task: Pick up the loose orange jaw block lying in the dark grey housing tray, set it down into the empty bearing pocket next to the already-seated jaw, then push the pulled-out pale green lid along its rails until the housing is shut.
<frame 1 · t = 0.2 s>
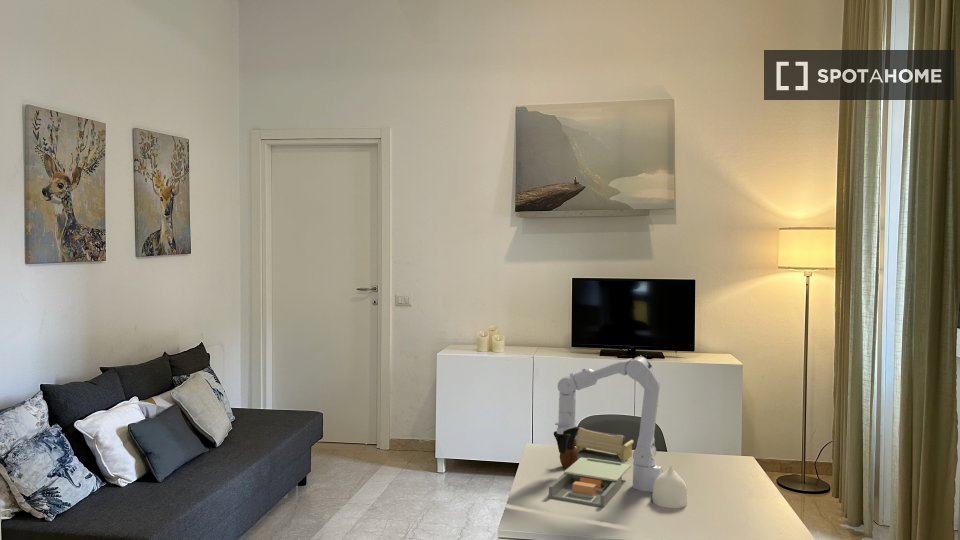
hand: (566, 450, 264), 10 cm above the table, tool pointing down, fingers open, 7 cm apart
lid: (598, 468, 260), point 5 cm above the table, slide at 15.0 cm
toy sofa: (603, 455, 295), on the table
teardrop: (669, 502, 244), on the table
housing: (585, 495, 248), on the table
wooden figurine: (568, 467, 278), on the table
jaw block: (584, 494, 246), point 1 cm above the table, touching housing
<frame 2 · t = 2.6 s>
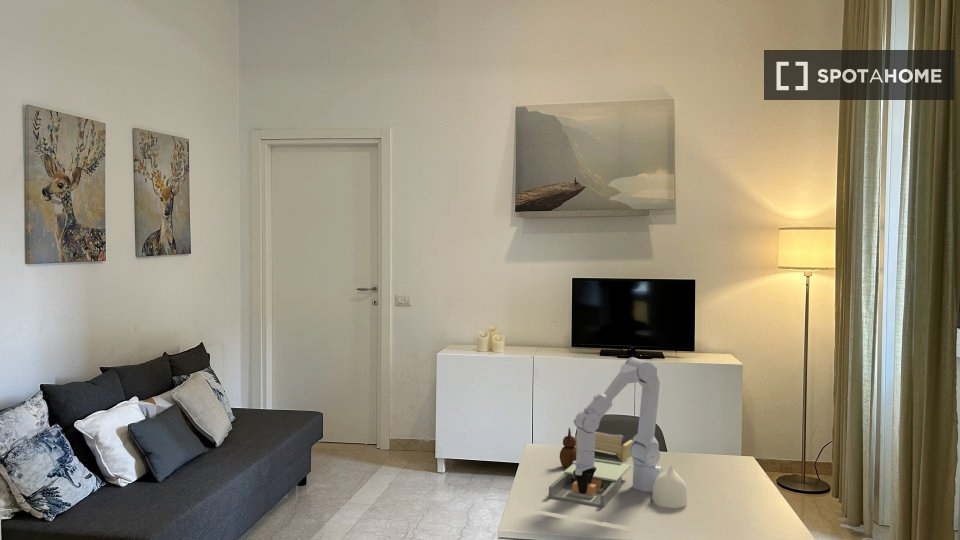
hand: (584, 491, 246), 2 cm above the table, tool pointing down, fingers closed on jaw block, 3 cm apart
jaw block: (584, 494, 246), point 1 cm above the table, touching gripper, housing
everything else where it was.
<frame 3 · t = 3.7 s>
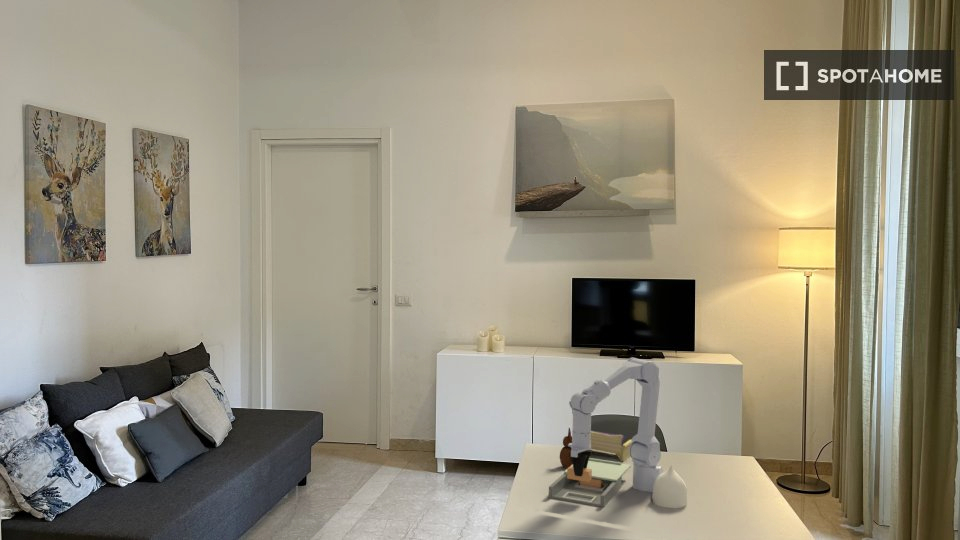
hand: (580, 474, 241), 9 cm above the table, tool pointing down, fingers closed on jaw block, 3 cm apart
jaw block: (579, 478, 241), point 7 cm above the table, touching gripper
everything else where it was.
when the fingers open (3 cm above the table, at t = 5.0 s): jaw block stays where it is, resting on housing.
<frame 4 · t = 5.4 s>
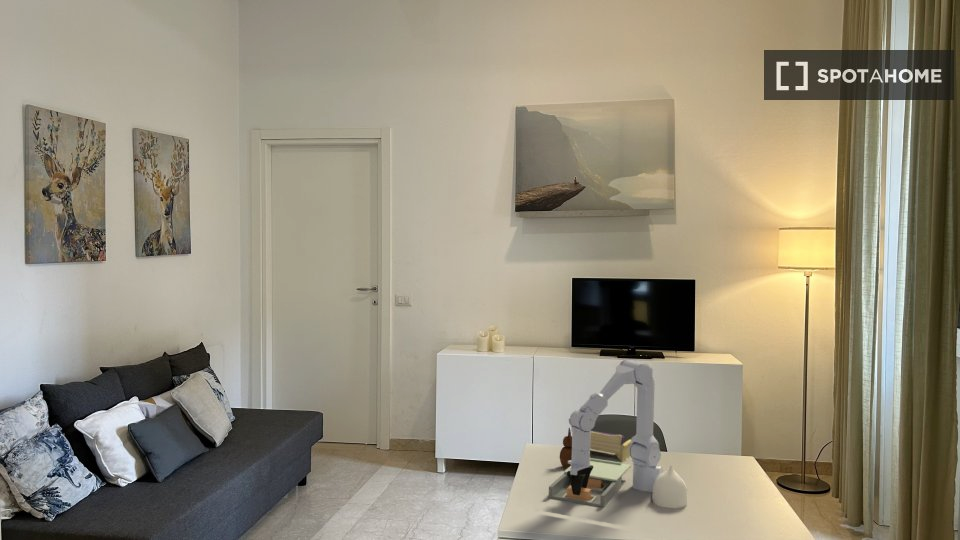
hand: (579, 491, 241), 3 cm above the table, tool pointing down, fingers open, 6 cm apart
jaw block: (578, 498, 242), point 1 cm above the table, touching housing
everything else where it was.
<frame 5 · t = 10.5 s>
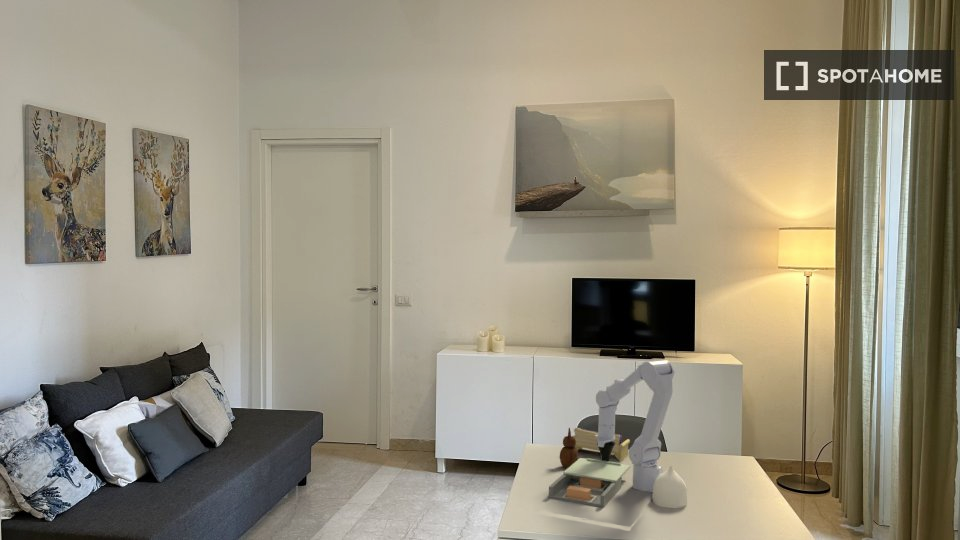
hand: (605, 462, 268), 5 cm above the table, tool pointing down, fingers closed
lid: (597, 468, 259), point 5 cm above the table, slide at 14.3 cm, touching gripper
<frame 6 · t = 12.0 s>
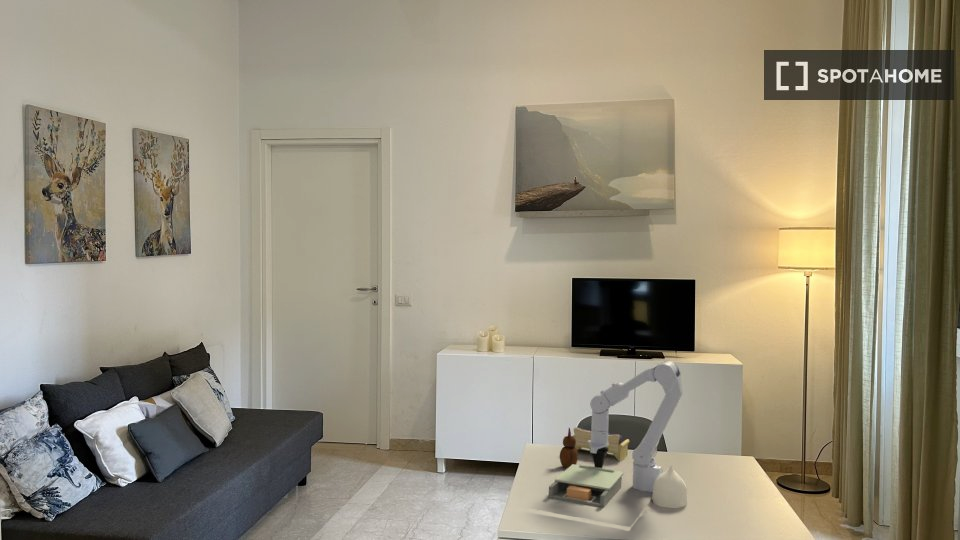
hand: (598, 469, 261), 5 cm above the table, tool pointing down, fingers closed
lid: (590, 475, 251), point 5 cm above the table, slide at 5.6 cm, touching gripper
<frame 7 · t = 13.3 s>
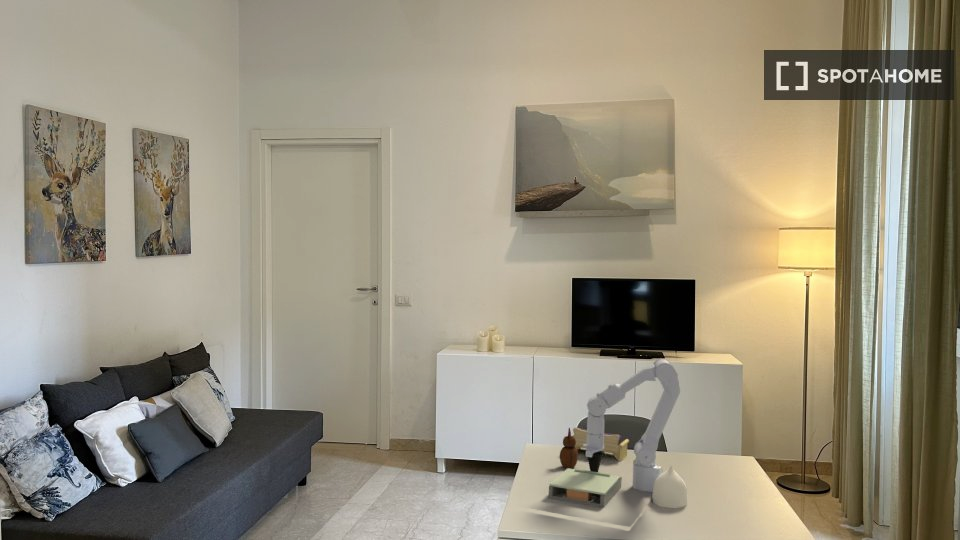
hand: (594, 473, 256), 5 cm above the table, tool pointing down, fingers closed
lid: (585, 480, 247), point 5 cm above the table, slide at 0.4 cm, touching gripper
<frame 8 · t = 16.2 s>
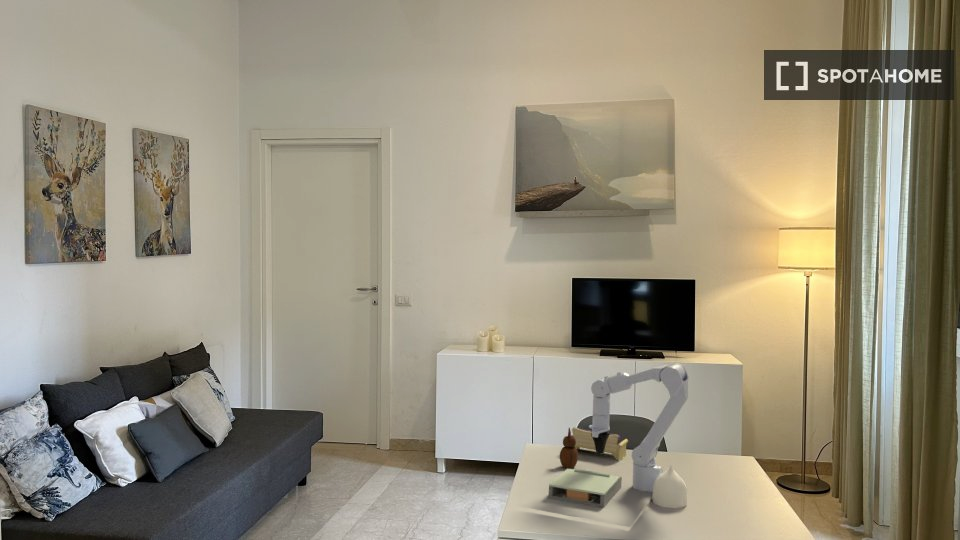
hand: (599, 453, 261), 10 cm above the table, tool pointing down, fingers closed
lid: (585, 480, 246), point 5 cm above the table, slide at 0.1 cm
at the end: jaw block 0.2 cm from the target spot on the housing, point 1.0 cm above the housing's base; jaw block tilted 0°; lid slide at 0.1 cm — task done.
